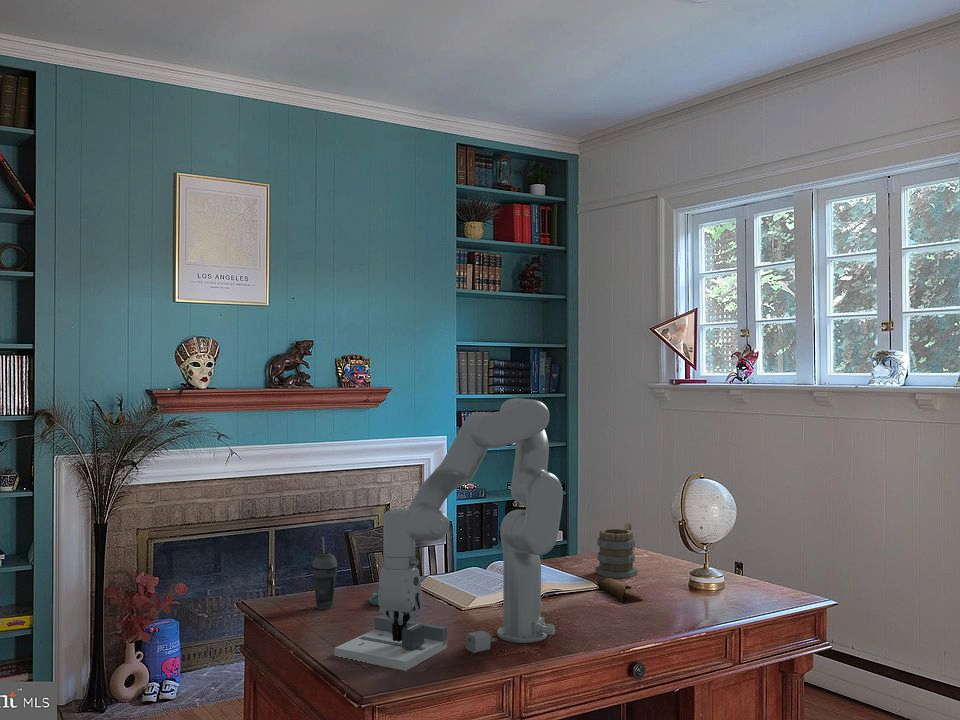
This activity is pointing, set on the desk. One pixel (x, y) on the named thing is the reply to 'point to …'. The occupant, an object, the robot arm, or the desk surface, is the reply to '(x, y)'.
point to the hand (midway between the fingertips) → (399, 639)
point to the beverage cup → (324, 579)
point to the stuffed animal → (374, 601)
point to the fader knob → (413, 636)
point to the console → (393, 646)
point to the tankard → (616, 553)
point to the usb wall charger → (478, 641)
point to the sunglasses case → (620, 590)
